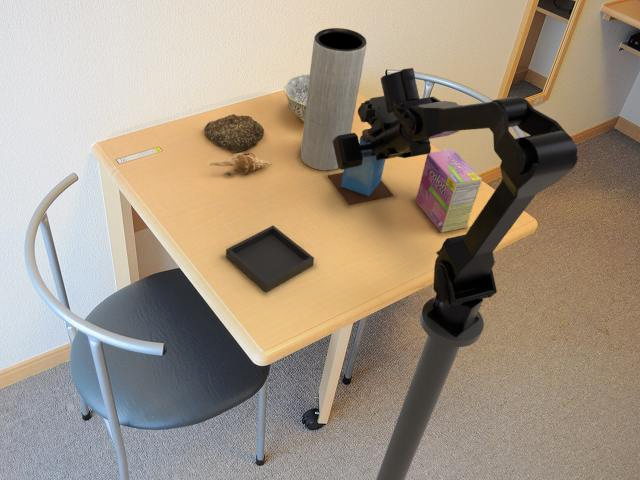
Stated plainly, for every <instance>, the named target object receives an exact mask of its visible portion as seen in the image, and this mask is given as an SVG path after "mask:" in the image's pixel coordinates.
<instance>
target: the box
mask: <svg viewBox="0 0 640 480" xmlns="http://www.w3.org/2000/svg"><path fill="white" fill-rule="evenodd" d="M482 182H483V178H482V177H481V176H480V175H479V174H478V173H477V172H476V171H475V170H474V169H473V168H472V167H471V166H470V164H468V163H467V162H466V161H465V159H463V158H462V156H460V155H459V153H458V152H456V151H455V150H454V149H453V148H450V149H443V150H438V151H437V150H436V151H431V152H430V153H429V154H426V158H425V162H424V166H423V170H422V174H421V178H420V182H419V186H418V190H417V194H416V198H415V202H416V204H417V205H418V206H419V207H420V209H421V210H422V211H423V212H424V214H425V215H426V216H427V217H428V218H429V220H430V221H431V222H432V223H433V225H434V226H435V227H436V228H437V229H438V231H439V232H440V233H447V232H451V231H456V230H461V229H466V228H467V227H468V222H469V219H470V216H471V214H472V211H473V208H474V206H475V202H476V199H477V196H478V193H479V190H480V188H481V184H482Z"/></svg>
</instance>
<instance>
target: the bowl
mask: <svg viewBox="0 0 640 480" xmlns="http://www.w3.org/2000/svg"><path fill="white" fill-rule="evenodd" d="M309 77H310V73H304V74H299V75H296V76H293V77H291V78H289V79H288V80H287V81H285V83H284V85H283V90H284V94H285V96H286V99H287V102H288V106H289V108H290V110H291V111H292V112H293V114H294V115H295V116H297V117H298V118H299V119H300V120H301V121H302V122H303V123H304V119H305V111H306V103H307V94H308V86H309Z"/></svg>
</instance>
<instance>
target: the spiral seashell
mask: <svg viewBox="0 0 640 480" xmlns="http://www.w3.org/2000/svg"><path fill="white" fill-rule="evenodd" d="M272 164H273V163H272V162H268V161H267V160H262V159H261V158H257V157H256V155H255V153H252V152H250V151H247V152H238V153H235V154H233V155H232V156H231V158H230V159H228V160H223V161H222V160H221V161H213V162H209V163H208V164H207V167H216V166H217V167H234V168H236V169H237V171H239V172H240V173H241V174H243V175H246V174H248V172H249V171H250V172H254V171H255V170H259V169H260V168H263V167H267V166H270V165H272ZM226 175H227V176H228V177H229V176H230V175H231V173H230V172H229V171H227V172H226Z"/></svg>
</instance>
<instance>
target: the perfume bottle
mask: <svg viewBox="0 0 640 480" xmlns="http://www.w3.org/2000/svg"><path fill="white" fill-rule="evenodd" d="M368 129H369V128H365V129H363V130H362V131H361V135H360V137H359V144H360V145H366V144H370V141H371V138H372V136H369V134H368ZM369 151H370V152H371V151H372V150H369ZM369 151H363V152H369ZM361 153H362V152H361ZM385 163H386V159H384V160H378V161H377V159H376V156H371V157H366V158H363V161H362V165H361V166H358V167H354V168H349V169H344V170H342V173H343V177H342V184H341V187H344V188H347V189H349V190H352V191H355V192H358V193H361V194H364V195H367V196H370V195H371V193H372V192H373V191H374V190H375V188H376V187H377V186H378V184H379V183H380V182H381V181H382V178H383V172H384V167H385Z"/></svg>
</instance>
